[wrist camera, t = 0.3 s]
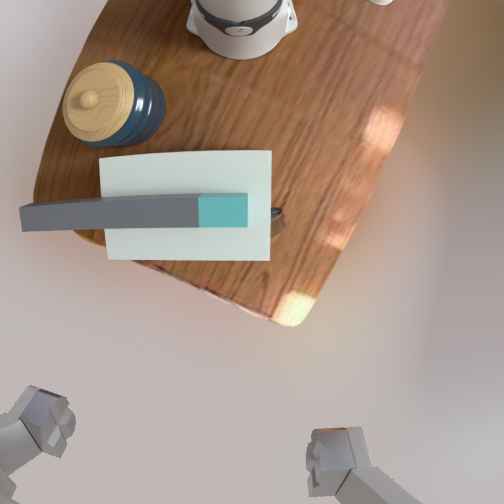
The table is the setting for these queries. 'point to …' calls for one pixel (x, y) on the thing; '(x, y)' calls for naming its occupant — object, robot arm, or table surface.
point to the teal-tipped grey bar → (138, 212)
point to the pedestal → (191, 182)
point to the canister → (113, 105)
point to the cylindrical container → (381, 1)
